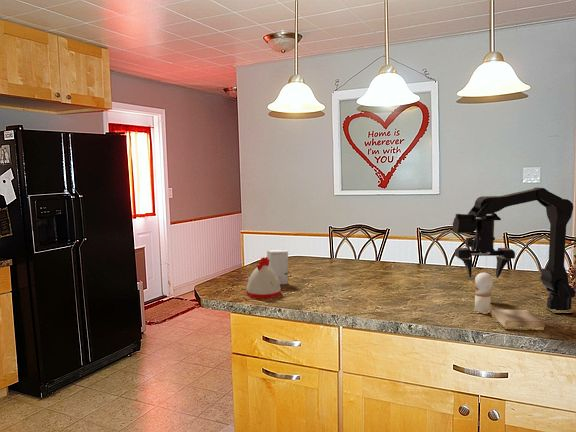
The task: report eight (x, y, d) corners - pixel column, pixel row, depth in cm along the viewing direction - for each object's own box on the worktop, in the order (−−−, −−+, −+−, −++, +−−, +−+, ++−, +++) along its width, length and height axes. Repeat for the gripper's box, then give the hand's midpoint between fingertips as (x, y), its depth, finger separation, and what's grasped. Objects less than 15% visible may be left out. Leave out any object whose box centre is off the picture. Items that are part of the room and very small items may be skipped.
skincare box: (270, 285, 203) (270, 252, 201) (266, 282, 208) (266, 250, 207) (288, 284, 206) (288, 250, 204) (284, 281, 211) (283, 248, 210)
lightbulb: (494, 300, 177) (495, 272, 176) (489, 304, 173) (490, 275, 171) (477, 297, 182) (478, 270, 180) (471, 301, 177) (472, 272, 176)
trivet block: (527, 318, 157) (528, 309, 156) (544, 330, 145) (545, 321, 144) (491, 317, 158) (491, 309, 157) (504, 330, 146) (505, 320, 145)
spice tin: (487, 310, 166) (487, 290, 165) (492, 314, 161) (493, 294, 160) (472, 310, 166) (472, 290, 166) (477, 314, 161) (477, 294, 160)
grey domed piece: (286, 292, 193) (286, 256, 191) (268, 300, 181) (268, 262, 180) (259, 288, 200) (258, 253, 198) (239, 295, 188) (239, 259, 187)
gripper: (503, 230, 168) (502, 272, 170) (450, 230, 169) (449, 272, 171) (516, 234, 157) (514, 279, 159) (459, 234, 158) (458, 279, 160)
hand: (483, 277), depth 162 cm, fingers open, 9 cm apart
